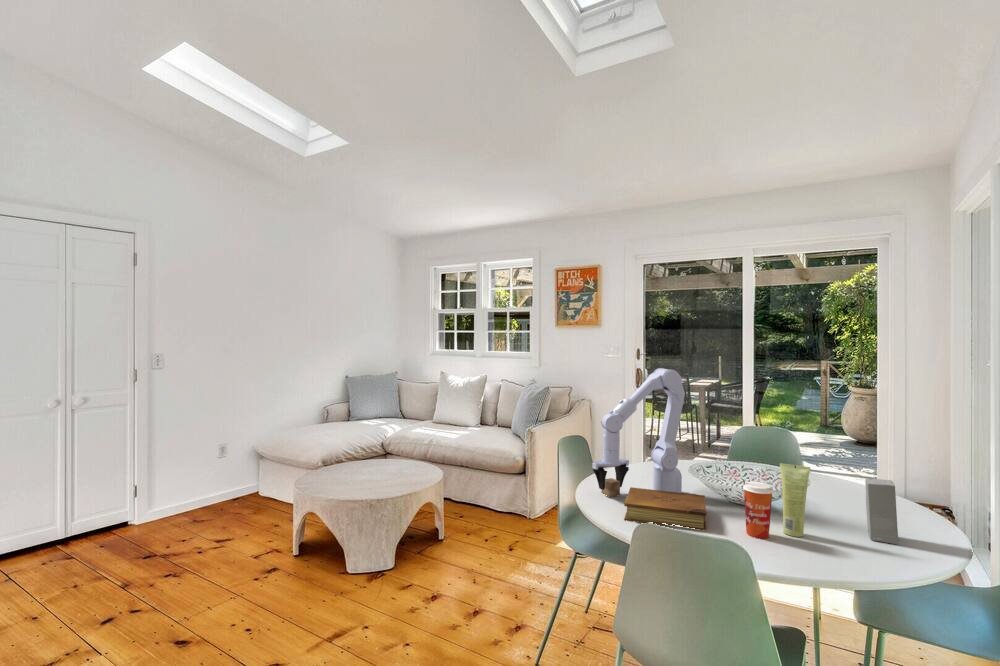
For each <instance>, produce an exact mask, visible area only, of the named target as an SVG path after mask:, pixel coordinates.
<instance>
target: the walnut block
mask: <svg viewBox="0 0 1000 666" xmlns="http://www.w3.org/2000/svg"><path fill="white" fill-rule="evenodd" d="M600 490H601V491H600V493H603V494H605V495H604V496H606V495H607V496H606V497H608V496H609V498H612V497H611V496H614V497H618V496H617V495H621V487H620V481H618V480H616V478H615V479H614V478H613V477H611V478H605V489H604V490H602V489H600ZM603 494H602V495H603Z"/></svg>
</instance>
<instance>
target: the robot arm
mask: <svg viewBox="0 0 1000 666" xmlns="http://www.w3.org/2000/svg"><path fill="white" fill-rule="evenodd" d="M682 379H683V376H681V375H680V374H679V372H677V371H676V370H675V369H669V368H663V367H658V368H655V370H653V372H652V373H650V374H649V375H648V376H647V378H646V379H645V380H644V381H643V383H641V385H640V386H639V387H638V388H637V389H636V390H635V392H633V393H632V395H631V396H630V397H626V398H623V399H620V400H619V401H618V404H617V405H616V406H615V407H614V408H613V409H610V410H609V413H605V415H603V416H602V420H601V421H600V424H601V427H602V429H603V432H602V433H603V434H602V459H601V460H598V461H596V462H592V467H591V468H592V470H593V473H594V475H595V477H596V480H597V484H598V489H600V490H601V489H602V490H604V489H605V479H607V474H608V471H607V470H605V469H607V468H613V467H614V470H615V471H614V473H615V480H618V481H620V488H622V487H623V483H624V480H625V477H626V475H627V473H628V471H629V470H630V467H629V466H630V465H629V464H630V461H629V459H628V458H621V459H620V449H621V447H620V440H621V439H620V438H621V437H620V435H621V433H620V431H621V430H622V428H623V427H624V423H625V422H626V421H627V420H628V419H629V418H630V417H631V416H632V415H633V414H634V413H635V412H636V411H637V405H638V404H639V403H640V402H641V401H643V400H644V399H645V398H646V397H647V396H648V395H649V394H650V393H652V392H653V391H656V390H661V389H662V390H663V391H664V392H665V394H666V395H667V402H666V407H665V411H664V416H663V420H662V421H663V422H662V426H661V430H660V437H659V440H657V441H656V443H655V446H654V448H653V449H652V450H651V452H650V453H651V454H650V459H651V460H652V462H653V463H654V464H653V471H652V472H653V473H652V474H653V476H652V477H653V479H652V480H653V483H652V484H653V487H652V489H651V490H659V491H669V492H678V493H683V492H682V487H683V485H682V482H683V479H682V478H683V477H682V476H683V475H682V472H681V471H680V469H679V468H678V467H677V466H678V464H679V458H678V447H677V445H676V441H677V436H678V430H679V427H680V423H681V422H680V420H681V416H682V411H683V406H684V401H685V396H686V392H685V389H684V386H683V383H682Z"/></svg>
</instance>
